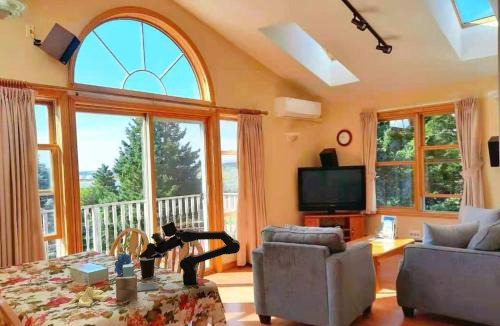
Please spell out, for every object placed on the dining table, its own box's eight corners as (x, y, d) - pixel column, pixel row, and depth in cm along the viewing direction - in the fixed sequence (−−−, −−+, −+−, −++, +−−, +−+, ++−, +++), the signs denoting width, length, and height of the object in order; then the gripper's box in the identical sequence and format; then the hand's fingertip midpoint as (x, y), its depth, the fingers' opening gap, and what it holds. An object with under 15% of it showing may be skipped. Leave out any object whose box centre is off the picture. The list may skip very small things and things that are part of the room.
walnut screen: (137, 297, 182) (136, 276, 182) (136, 299, 180) (135, 277, 180) (117, 298, 182) (117, 277, 182) (116, 300, 179) (115, 278, 179)
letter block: (134, 287, 197) (133, 263, 197) (134, 290, 192) (133, 266, 192) (123, 288, 196) (123, 264, 196) (123, 292, 191) (122, 267, 191)
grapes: (126, 270, 229) (125, 250, 229) (134, 271, 225) (133, 251, 225) (109, 275, 219) (109, 254, 219) (117, 277, 215) (117, 255, 215)
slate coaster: (157, 283, 203) (157, 282, 203) (158, 289, 193) (158, 288, 193) (137, 285, 200) (137, 284, 200) (137, 291, 190) (137, 290, 190)
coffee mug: (151, 278, 211) (151, 260, 211) (136, 278, 213) (136, 260, 213) (160, 272, 222) (160, 255, 222) (146, 272, 224) (146, 254, 224)
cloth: (97, 290, 196) (97, 278, 196) (119, 297, 185) (118, 284, 185) (52, 304, 179) (52, 290, 179) (73, 313, 167) (72, 298, 167)
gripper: (170, 232, 213) (144, 244, 213) (158, 227, 195) (130, 241, 195) (177, 250, 209) (151, 263, 209) (165, 248, 192) (137, 262, 191)
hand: (142, 257), depth 201 cm, fingers open, 9 cm apart
